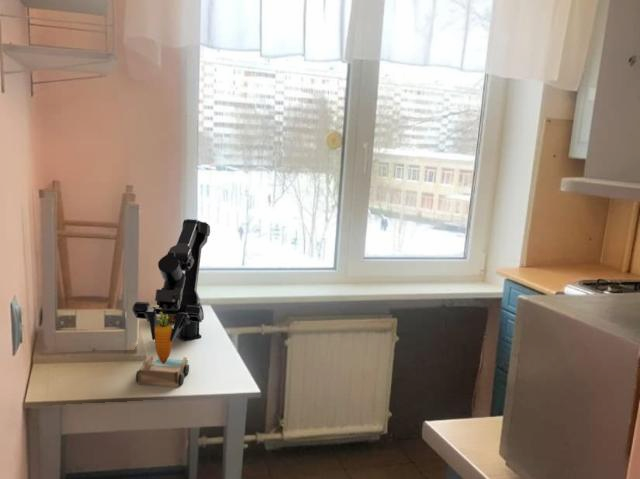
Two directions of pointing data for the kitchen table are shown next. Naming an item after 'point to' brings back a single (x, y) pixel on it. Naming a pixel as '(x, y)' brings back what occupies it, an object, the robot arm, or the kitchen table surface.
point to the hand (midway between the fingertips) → (162, 340)
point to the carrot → (163, 338)
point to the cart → (162, 372)
